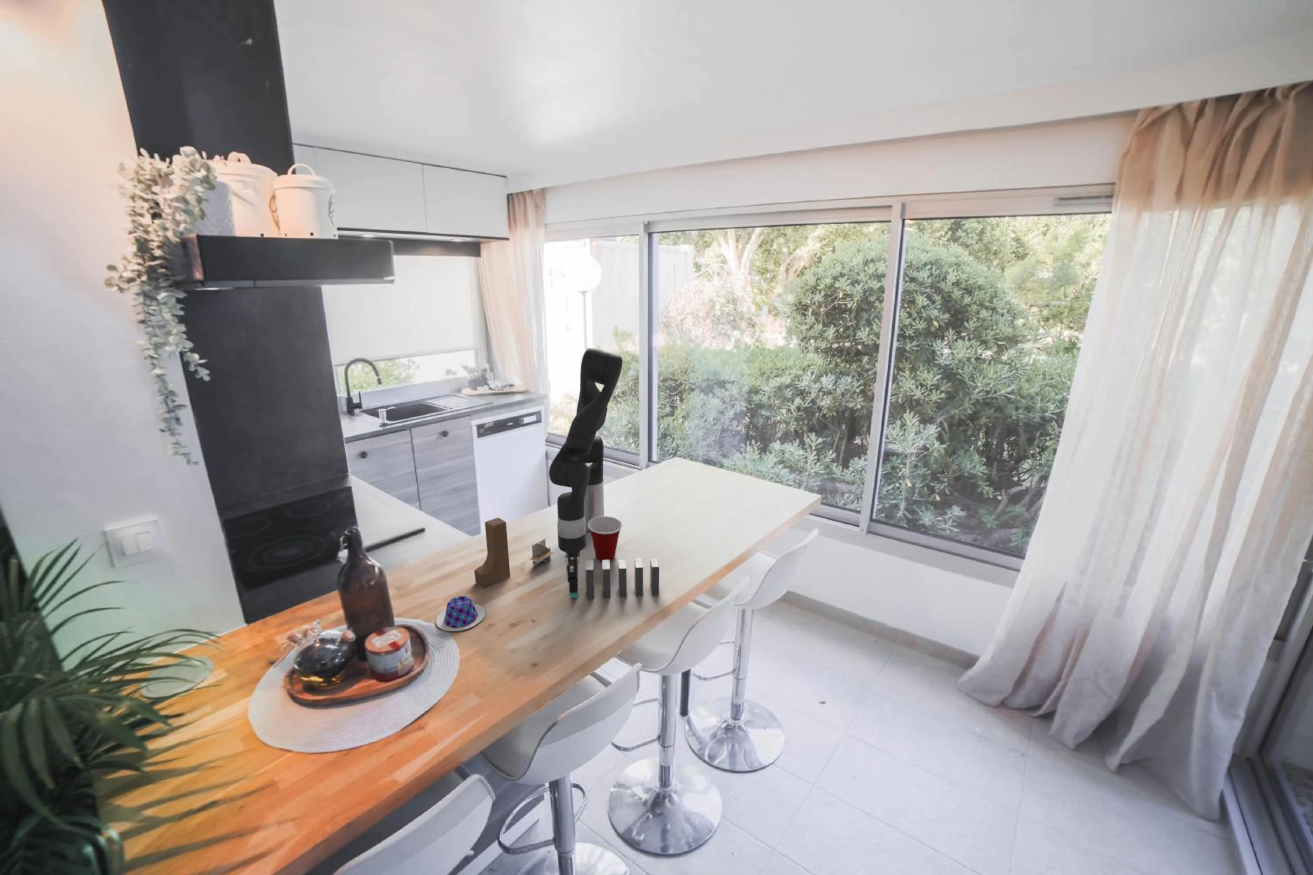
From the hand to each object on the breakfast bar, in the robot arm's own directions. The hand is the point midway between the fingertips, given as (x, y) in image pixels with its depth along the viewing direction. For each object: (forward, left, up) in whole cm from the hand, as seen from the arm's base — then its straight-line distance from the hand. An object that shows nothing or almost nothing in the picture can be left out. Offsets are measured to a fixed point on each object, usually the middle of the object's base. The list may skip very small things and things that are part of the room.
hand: (574, 586), depth 148 cm
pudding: (-9, -28, -3) cm, 30 cm away
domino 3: (+5, +7, -3) cm, 9 cm away
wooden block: (-21, -14, -3) cm, 26 cm away
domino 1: (0, 0, -2) cm, 2 cm away
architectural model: (-21, +2, -3) cm, 22 cm away
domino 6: (+13, +19, -3) cm, 23 cm away
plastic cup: (-11, +19, -3) cm, 22 cm away
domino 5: (+10, +15, -3) cm, 18 cm away
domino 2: (+3, +4, -3) cm, 5 cm away
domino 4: (+8, +11, -3) cm, 14 cm away
